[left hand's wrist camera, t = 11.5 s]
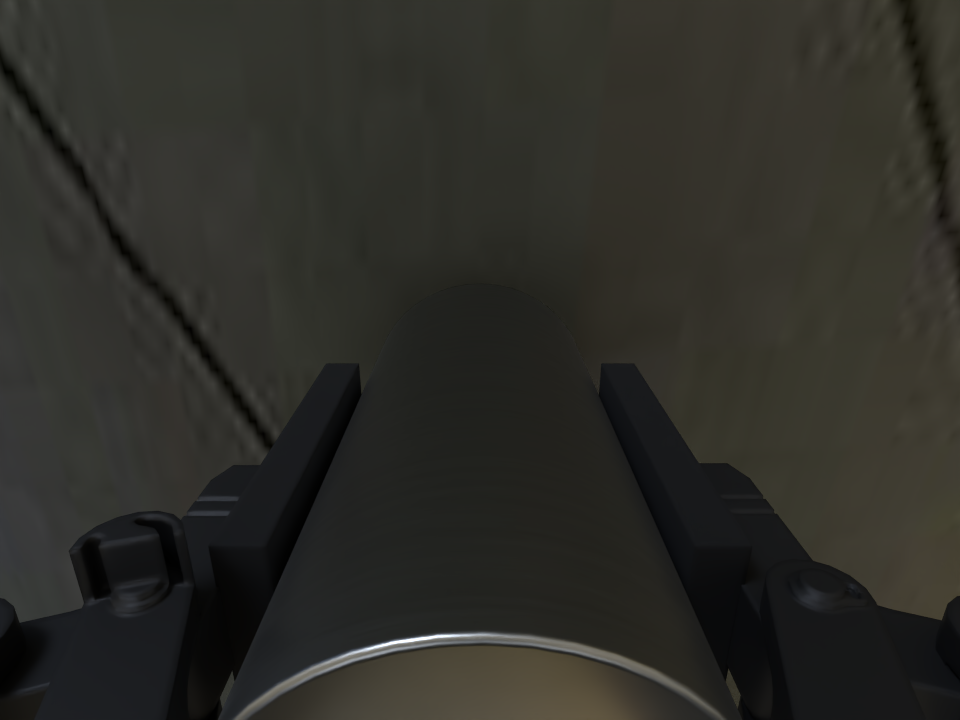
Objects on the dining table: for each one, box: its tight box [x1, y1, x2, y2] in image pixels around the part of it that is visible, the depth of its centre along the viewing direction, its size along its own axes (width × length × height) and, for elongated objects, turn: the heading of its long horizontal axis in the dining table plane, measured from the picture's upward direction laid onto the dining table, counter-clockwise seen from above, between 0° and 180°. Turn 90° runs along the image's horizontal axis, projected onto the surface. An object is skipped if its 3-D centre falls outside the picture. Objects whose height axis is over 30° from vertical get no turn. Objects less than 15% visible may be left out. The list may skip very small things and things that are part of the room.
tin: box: [218, 284, 742, 720], centre depth 11 cm, size 6×6×12 cm
